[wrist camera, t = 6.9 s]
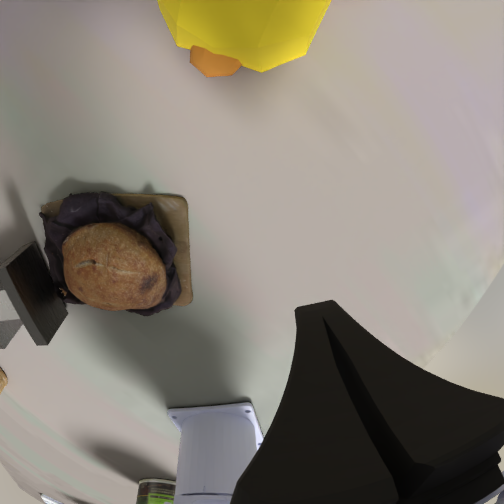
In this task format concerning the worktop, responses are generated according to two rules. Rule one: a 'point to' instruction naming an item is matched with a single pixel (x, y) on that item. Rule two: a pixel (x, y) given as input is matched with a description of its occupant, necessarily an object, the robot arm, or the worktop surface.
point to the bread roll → (119, 251)
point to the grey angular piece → (30, 294)
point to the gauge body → (8, 331)
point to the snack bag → (50, 500)
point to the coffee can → (156, 491)
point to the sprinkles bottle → (2, 380)
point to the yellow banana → (242, 31)
